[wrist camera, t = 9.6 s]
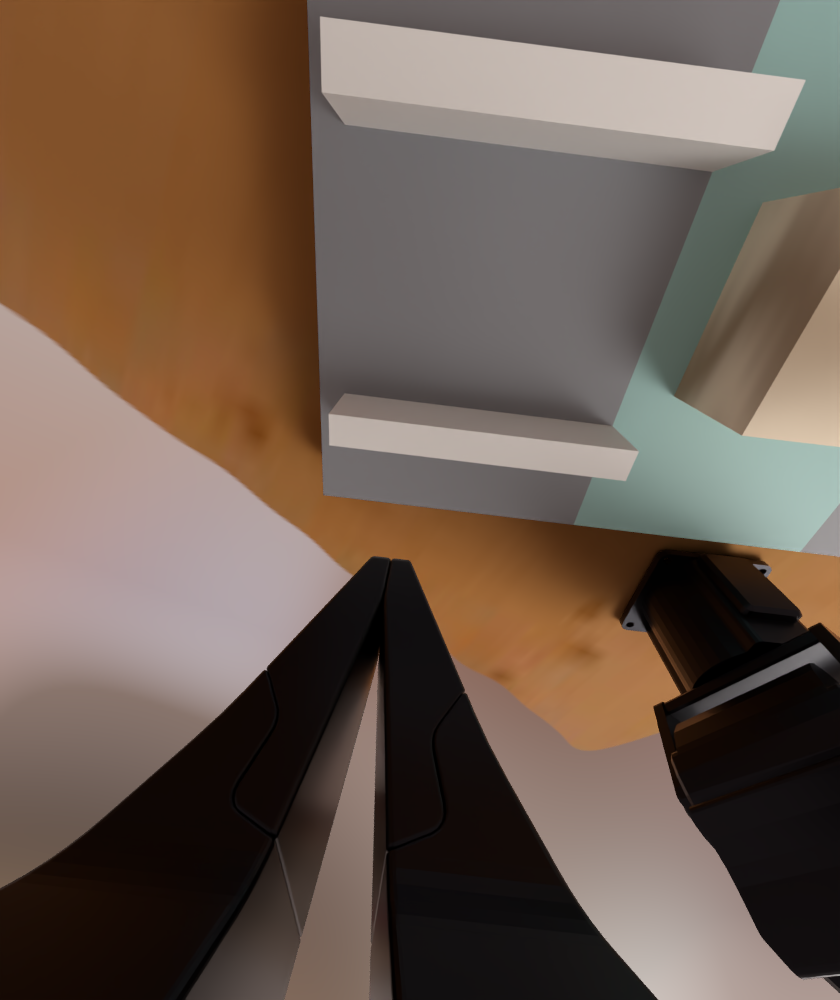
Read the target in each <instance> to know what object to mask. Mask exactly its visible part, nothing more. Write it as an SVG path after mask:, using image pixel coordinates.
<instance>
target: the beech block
mask: <svg viewBox="0 0 840 1000" xmlns="http://www.w3.org/2000/svg"><path fill="white" fill-rule="evenodd" d="M674 397H676V398H678V399H679V400H681V401H683V402H685V403H686V404H688V405H690V406H691V407H693V408H695V409H697V410H698V411H700V412H702V413H704V414H705V415H707V416H709V417H710V418H712V419H714V420H716V421H717V422H719V423H721V424H723V425H724V426H726V427H728V428H730V429H731V430H733V431H735V432H736V433H738V434H740V435H742V436H749V437H757V438H766V439H775V440H783V441H792V442H800V443H809V444H817V445H826V446H835V447H840V188H836V189H831V190H825V191H820V192H815V193H810V194H805V195H799V196H794V197H789V198H784V199H779V200H774V201H768V202H763V203H762V205H761V207H760V209H759V212H758V214H757V216H756V218H755V220H754V223H753V225H752V227H751V229H750V231H749V233H748V236H747V238H746V240H745V242H744V244H743V247H742V249H741V251H740V253H739V255H738V257H737V260H736V262H735V264H734V266H733V268H732V271H731V273H730V275H729V277H728V279H727V281H726V284H725V286H724V288H723V290H722V292H721V295H720V297H719V299H718V301H717V303H716V305H715V308H714V310H713V312H712V314H711V316H710V319H709V321H708V323H707V325H706V327H705V329H704V332H703V334H702V336H701V338H700V340H699V343H698V345H697V347H696V349H695V351H694V353H693V356H692V358H691V360H690V362H689V364H688V367H687V369H686V371H685V373H684V375H683V377H682V380H681V382H680V384H679V386H678V388H677V391H676V393H675V395H674Z"/></svg>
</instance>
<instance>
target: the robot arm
mask: <svg viewBox="0 0 840 1000" xmlns="http://www.w3.org/2000/svg"><path fill="white" fill-rule="evenodd" d="M666 558H667V559H666ZM664 559H665V560H664ZM770 572H771V568H770V566H768V565H767V564H766V563H765V562H763V561H757V560H749V559H746V558H739V557H730V556H722V555H713V554H698V553H690V552H682V551H673V550H663V551H661V552H659V553H658V554H657V555H656V557H655V558H654V560H653V562H652V564H651V565H650V567H649V569H648V571H647V572H646V574H645V576H644V578H643V580H642V581H641V583H640V585H639V587H638V588H637V590H636V592H635V594H634V595H633V597H632V599H631V601H630V603H629V604H628V606H627V608H626V610H625V611H624V613H623V615H622V617H621V618H620V623H621V625H622V627H623V628H624V629H626V630H633V631H641V632H647V633H648V635H649V637H650V639H651V640H652V642H653V644H654V646H655V648H656V650H657V651H658V653H659V655H660V657H661V659H662V661H663V662H664V664H665V666H666V668H667V670H668V671H669V673H670V675H671V677H672V679H673V681H674V682H675V684H676V686H677V688H678V690H679V691H680V693H681V695H680V696H678V697H676V698H674V699H672V700H670V701H668V702H666V703H664V702H661V703H659V704H657V705H655V706H654V711H655V715H656V719H657V724H658V728H659V732H660V735H661V739H662V743H663V747H664V750H665V754H666V758H667V762H668V765H669V769H670V773H671V776H672V780H673V784H674V788H675V791H676V795H677V798H678V799H679V801H680V803H681V804H682V805H683V806H684V808H685V811H686V813H687V814H688V815H689V817H690V818H691V819H692V821H693V822H694V824H695V825H696V827H697V828H698V829H699V831H700V832H701V833H702V835H703V836H704V837H705V839H706V840H707V841H708V842H709V843H710V844H711V845H712V846H713V848H714V849H715V850H716V852H717V853H718V855H719V856H720V858H721V860H722V862H723V863H724V865H725V866H726V868H727V870H728V872H729V874H730V876H731V878H732V880H733V881H734V883H735V885H736V887H737V889H738V891H739V893H740V895H741V897H742V899H743V901H744V903H745V905H746V907H747V909H748V911H749V913H750V915H751V917H752V919H753V922H754V923H755V926H756V928H757V930H758V931H759V933H760V935H761V937H762V938H763V939H764V940H765V942H766V943H767V944H768V945H769V946H770V947H771V948H772V949H773V951H774V952H775V953H776V954H777V955H778V956H779V957H780V958H781V959H782V961H783V962H784V963H785V964H786V965H787V966H788V967H789V969H790V970H791V971H792V972H793V973H795V974H796V975H797V976H798V977H800V978H801V979H814V978H824V979H825V980H826V981H827V982H828V983H829V984H830V985H831V986H832V987H834V988H835V989H836V990H837V991H838V992H839V993H840V638H839V637H838V636H837V635H835V634H834V633H833V632H832V631H830V630H829V629H828V628H827V627H825V626H824V625H823V624H822V623H818V624H816V625H814V626H812V627H810V628H808V629H807V628H806V627H805V626H804V625H803V624H802V623H801V622H800V621H799V619H800V618H801V617H802V614H801V612H800V610H799V609H798V608H797V607H796V606H795V605H794V604H793V603H792V602H791V601H790V600H789V599H788V598H787V597H786V596H785V595H784V594H783V593H782V592H781V591H780V590H779V589H778V588H777V587H776V586H775V585H774V584H773V583H772V582H771V581H770V580H768V579H767V576H768V575H769V574H770ZM378 656H379V663H378V690H377V729H376V730H377V731H376V766H375V767H376V768H375V805H374V844H373V883H372V919H371V944H372V945H371V957H370V994H369V995H370V996H369V1000H658V999H657V998H656V997H655V996H654V995H653V993H652V992H651V991H650V990H649V989H648V988H647V987H646V985H644V983H643V982H642V981H641V980H640V979H639V978H638V976H637V975H636V974H635V973H634V972H633V971H632V970H631V968H630V967H629V966H628V965H627V964H626V963H625V962H624V960H623V959H622V958H621V957H620V956H619V955H618V954H617V952H616V951H615V950H614V949H613V948H612V947H611V946H610V944H609V943H608V942H607V941H606V940H605V938H604V937H603V936H602V935H601V933H600V932H599V931H598V929H597V928H596V927H595V925H594V924H593V923H592V922H591V920H590V919H589V917H588V916H587V915H586V913H585V912H584V910H583V909H582V907H581V906H580V904H579V903H578V901H577V900H576V898H575V896H574V895H573V893H572V892H571V890H570V889H569V887H568V885H567V884H566V882H565V880H564V878H563V877H562V875H561V873H560V872H559V870H558V868H557V866H556V865H555V863H554V861H553V859H552V858H551V856H550V854H549V852H548V850H547V849H546V847H545V845H544V843H543V841H542V840H541V838H540V836H539V834H538V832H537V831H536V829H535V827H534V825H533V824H532V822H531V820H530V818H529V816H528V815H527V813H526V811H525V809H524V808H523V806H522V804H521V802H520V800H519V799H518V797H517V795H516V793H515V791H514V790H513V788H512V786H511V784H510V783H509V781H508V779H507V777H506V775H505V773H504V771H503V769H502V768H501V766H500V764H499V762H498V760H497V758H496V756H495V754H494V752H493V751H492V749H491V747H490V745H489V743H488V741H487V738H486V736H485V734H484V732H483V730H482V728H481V725H480V723H479V721H478V719H477V717H476V715H475V712H474V710H473V708H472V705H471V703H470V700H469V698H468V696H467V694H466V693H464V692H465V689H464V687H463V684H462V682H461V680H460V677H459V675H458V672H457V670H456V668H455V665H454V663H453V661H452V658H451V656H450V653H449V651H448V649H447V646H446V644H445V642H444V639H443V637H442V635H441V632H440V630H439V627H438V625H437V623H436V620H435V618H434V616H433V613H432V611H431V608H430V606H429V604H428V601H427V599H426V597H425V594H424V592H423V590H422V587H421V585H420V582H419V580H418V578H417V575H416V573H415V571H414V568H413V566H412V564H411V562H410V561H409V560H402V559H392V560H390V559H389V558H385V557H377V556H373V557H371V558H370V559H369V560H368V561H367V562H366V563H365V564H364V565H363V566H362V567H361V569H360V570H359V571H358V572H357V573H356V574H355V575H354V576H353V577H352V578H351V579H350V580H349V581H348V582H347V583H346V585H344V586H343V588H342V589H341V590H340V591H339V592H338V593H337V594H336V595H335V596H334V597H333V598H332V599H331V600H330V601H329V602H328V603H327V604H326V605H325V606H324V608H323V609H322V610H321V611H320V612H319V613H318V614H317V615H316V616H315V617H314V618H313V619H312V620H311V621H310V622H309V623H308V624H307V626H306V627H305V628H304V629H303V630H302V631H301V632H300V633H299V634H298V635H297V636H296V637H295V638H294V639H293V640H292V641H291V642H290V643H289V645H288V646H286V648H285V649H284V650H283V651H282V652H281V653H280V654H279V655H278V656H277V657H276V658H275V659H274V660H273V661H272V662H271V663H270V665H268V667H267V671H266V670H264V671H263V672H262V673H261V674H260V675H259V676H258V677H257V678H256V679H255V680H254V681H253V682H252V683H251V684H250V685H249V686H248V687H247V688H246V689H245V691H244V692H242V693H241V694H240V695H239V696H238V697H237V698H236V699H235V700H234V701H233V702H232V703H231V704H230V705H229V706H228V707H227V708H226V709H225V710H224V712H222V713H221V714H220V715H219V716H218V717H217V718H216V719H215V720H214V721H213V722H212V723H210V724H209V725H208V726H207V727H206V728H205V729H204V730H203V731H202V732H200V733H199V734H198V735H197V736H196V737H195V738H194V739H193V740H192V741H190V742H189V743H188V744H187V745H186V746H185V747H184V748H183V749H181V750H180V751H179V752H178V753H177V754H176V755H175V756H174V757H172V758H171V759H170V760H169V761H168V762H166V763H165V764H164V765H163V766H162V767H161V768H160V769H158V770H157V771H156V772H155V773H154V774H153V775H152V776H150V777H149V778H148V779H147V780H146V781H145V782H144V783H142V784H141V785H140V786H139V787H138V788H137V789H136V790H135V791H133V792H132V793H131V794H130V795H129V796H128V797H126V798H125V799H124V800H123V801H122V802H121V803H120V804H118V805H117V806H116V807H115V808H114V809H113V810H112V811H110V812H109V813H108V814H107V815H106V816H105V817H104V818H102V819H101V820H100V821H99V822H98V823H96V824H95V825H94V826H93V827H92V828H91V829H90V830H88V831H87V832H86V833H84V834H83V835H82V836H80V837H79V838H78V839H77V840H75V841H74V842H73V843H71V844H70V845H69V846H67V847H66V848H65V849H63V850H62V851H60V852H59V853H57V854H56V855H55V856H53V857H52V858H50V859H49V860H47V861H46V862H44V863H43V864H42V865H40V866H38V867H36V868H35V869H33V870H32V871H30V872H29V873H27V874H25V875H23V876H22V877H20V878H18V879H16V880H15V881H13V882H11V883H9V884H8V885H5V886H4V887H2V888H0V1000H284V999H285V995H286V991H287V987H288V983H289V980H290V977H291V973H292V969H293V966H294V962H295V959H296V955H297V952H298V948H299V944H300V937H301V936H302V933H303V929H304V926H305V922H306V919H307V915H308V911H309V908H310V904H311V901H312V897H313V893H314V890H315V886H316V882H317V879H318V875H319V872H320V868H321V865H322V861H323V857H324V854H325V850H326V846H327V843H328V839H329V836H330V832H331V828H332V825H333V821H334V817H335V814H336V810H337V807H338V803H339V800H340V796H341V792H342V789H343V785H344V781H345V778H346V774H347V771H348V767H349V763H350V760H351V756H352V752H353V749H354V745H355V742H356V738H357V734H358V730H359V727H360V724H361V720H362V716H363V713H364V709H365V706H366V702H367V698H368V695H369V691H370V688H371V684H372V680H373V677H374V673H375V669H376V665H377V661H378Z"/></svg>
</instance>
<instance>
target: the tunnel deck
mask: <svg viewBox="0 0 840 1000" xmlns="http://www.w3.org/2000/svg"><path fill="white" fill-rule="evenodd" d="M307 11H308V41H309V72H310V102H311V132H312V162H313V193H314V223H315V253H316V283H317V314H318V344H319V374H320V404H321V435H322V465H323V495H327V496H336V497H344V498H353V499H361V500H369V501H378V502H386V503H395V504H403V505H411V506H420V507H428V508H436V509H445V510H453V511H462V512H470V513H478V514H487V515H495V516H503V517H512V518H520V519H529V520H537V521H545V522H554V523H562V524H570V525H579V526H587V527H596V528H604V529H612V530H621V531H629V532H637V533H646V534H654V535H663V536H671V537H679V538H688V539H696V540H705V541H713V542H721V543H730V544H738V545H746V546H755V547H763V548H772V549H780V550H788V551H797V552H805V553H813V554H822V555H830V556H839V557H840V447H835V446H826V445H817V444H809V443H800V442H792V441H783V440H775V439H766V438H757V437H749V436H742V435H740V434H738V433H736V432H735V431H733V430H731V429H730V428H728V427H726V426H724V425H723V424H721V423H719V422H717V421H716V420H714V419H712V418H710V417H709V416H707V415H705V414H704V413H702V412H700V411H698V410H697V409H695V408H693V407H691V406H690V405H688V404H686V403H685V402H683V401H681V400H679V399H678V398H676V397H674V395H675V393H676V391H677V388H678V386H679V384H680V382H681V380H682V377H683V375H684V373H685V371H686V369H687V367H688V364H689V362H690V360H691V358H692V356H693V353H694V351H695V349H696V347H697V345H698V343H699V340H700V338H701V336H702V334H703V332H704V329H705V327H706V325H707V323H708V321H709V319H710V316H711V314H712V312H713V310H714V308H715V305H716V303H717V301H718V299H719V297H720V295H721V292H722V290H723V288H724V286H725V284H726V281H727V279H728V277H729V275H730V273H731V271H732V268H733V266H734V264H735V262H736V260H737V257H738V255H739V253H740V251H741V249H742V247H743V244H744V242H745V240H746V238H747V236H748V233H749V231H750V229H751V227H752V225H753V223H754V220H755V218H756V216H757V214H758V212H759V209H760V207H761V205H762V203H763V202H768V201H774V200H779V199H784V198H789V197H794V196H799V195H805V194H810V193H815V192H820V191H825V190H831V189H836V188H840V0H307Z"/></svg>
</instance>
